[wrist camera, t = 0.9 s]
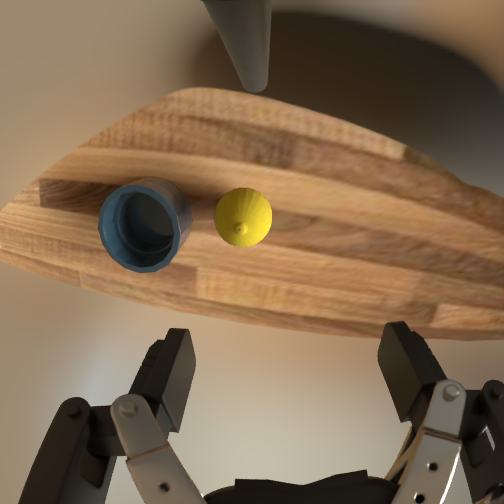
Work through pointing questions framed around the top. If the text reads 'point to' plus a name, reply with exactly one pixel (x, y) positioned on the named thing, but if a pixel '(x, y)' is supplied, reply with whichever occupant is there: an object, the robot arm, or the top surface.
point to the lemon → (243, 217)
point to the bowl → (145, 224)
